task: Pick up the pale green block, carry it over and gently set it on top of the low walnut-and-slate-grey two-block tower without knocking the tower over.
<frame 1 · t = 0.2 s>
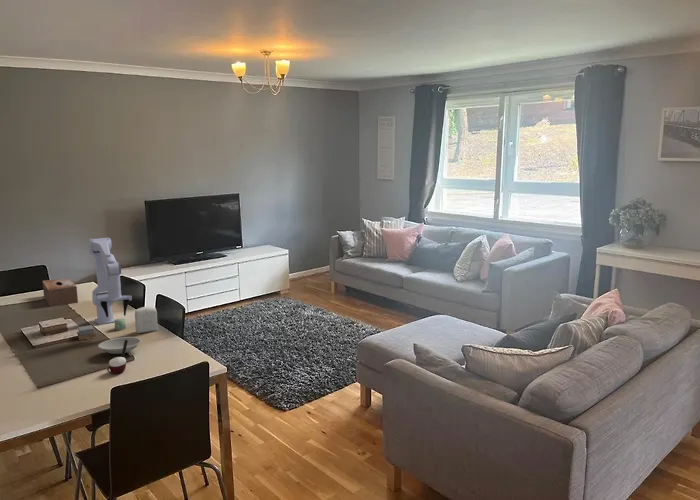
hand: (116, 315, 255), 10 cm above the table, tool pointing down, fingers open, 7 cm apart
slate top block: (86, 332, 254), point 2 cm above the table
walnut base block: (86, 337, 254), on the table
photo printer: (146, 331, 263), on the table
cocoa: (118, 372, 215), on the table
tissue box cover: (60, 300, 316), on the table
pale green block: (120, 328, 266), on the table
dish: (121, 354, 234), on the table
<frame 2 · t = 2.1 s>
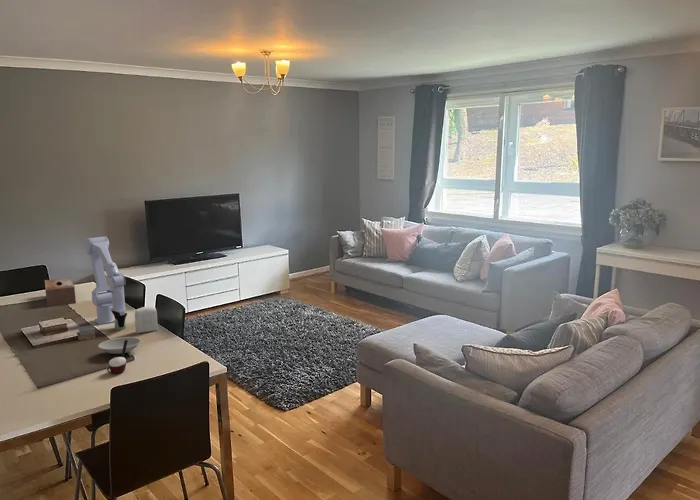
hand: (120, 325, 266), 2 cm above the table, tool pointing down, fingers closed on pale green block, 5 cm apart
slate top block: (87, 332, 254), point 2 cm above the table, touching walnut base block
walnut base block: (86, 338, 254), on the table, touching slate top block
pale green block: (120, 328, 266), on the table, touching gripper
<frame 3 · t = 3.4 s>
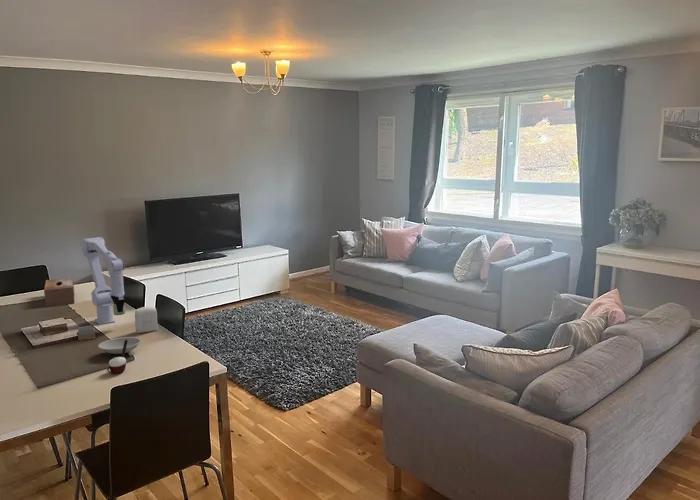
hand: (119, 310, 265), 9 cm above the table, tool pointing down, fingers closed on pale green block, 5 cm apart
pale green block: (119, 313, 265), point 8 cm above the table, touching gripper
when the fingers open (8 cm above the table, at t = 5.4 s): pale green block drops 2 cm, point 4 cm above the table.
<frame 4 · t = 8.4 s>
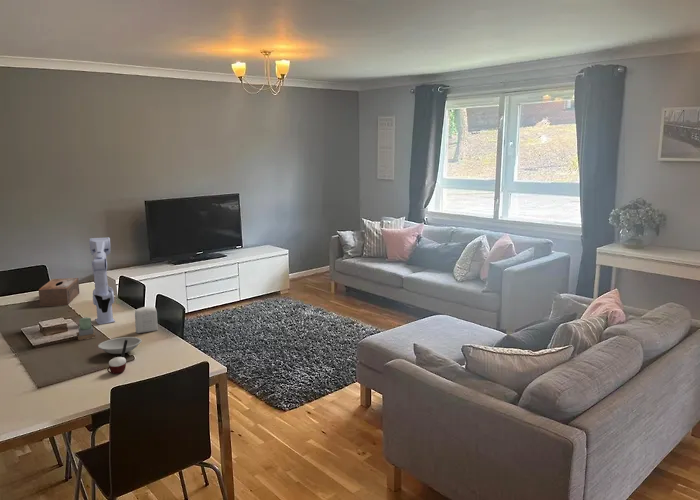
hand: (103, 310, 261), 10 cm above the table, tool pointing down, fingers open, 7 cm apart
pale green block: (85, 328, 253), point 4 cm above the table
at the end: pale green block 0.4 cm off-centre on the slate top block, point 2.6 cm above the slate top block's base; slate top block 0.3 cm from the walnut base block (horizontally); pale green block tilted 2° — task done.
